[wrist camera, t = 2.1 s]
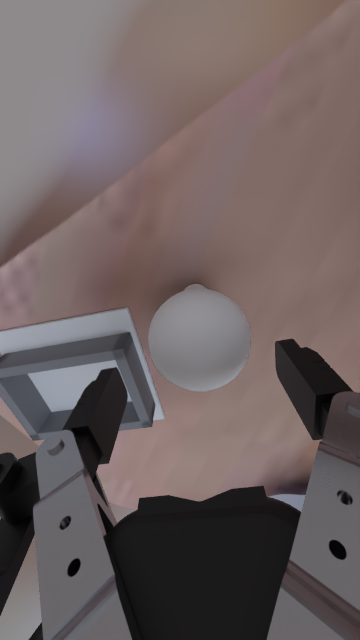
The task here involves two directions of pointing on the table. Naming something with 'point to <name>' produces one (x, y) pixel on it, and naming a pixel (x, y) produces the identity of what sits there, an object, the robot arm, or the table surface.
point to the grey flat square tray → (73, 369)
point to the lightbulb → (199, 339)
